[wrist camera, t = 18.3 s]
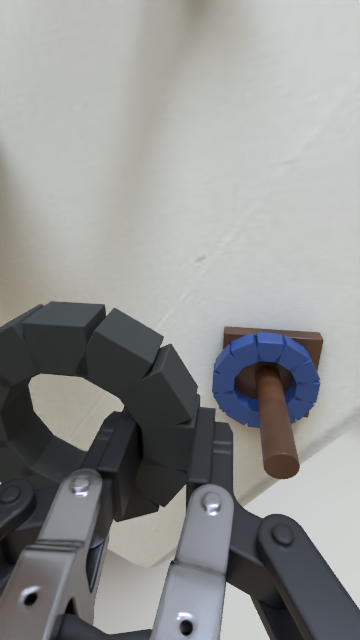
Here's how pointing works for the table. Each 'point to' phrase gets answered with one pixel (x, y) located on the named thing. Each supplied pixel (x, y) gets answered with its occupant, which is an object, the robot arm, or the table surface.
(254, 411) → the navy ring
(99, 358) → the charcoal ring
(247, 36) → the table surface
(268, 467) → the stand
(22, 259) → the table surface
